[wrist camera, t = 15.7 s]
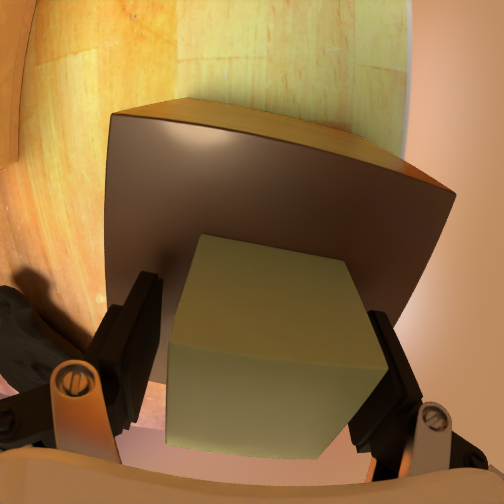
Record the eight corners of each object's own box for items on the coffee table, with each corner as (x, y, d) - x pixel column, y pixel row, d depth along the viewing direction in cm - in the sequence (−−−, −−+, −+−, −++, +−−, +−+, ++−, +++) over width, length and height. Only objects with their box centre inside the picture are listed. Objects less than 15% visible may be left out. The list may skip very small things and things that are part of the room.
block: (201, 232, 11) (167, 341, 6) (344, 260, 11) (390, 368, 7) (186, 340, 13) (165, 445, 9) (302, 357, 13) (316, 460, 9)
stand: (185, 97, 19) (109, 112, 9) (361, 136, 20) (458, 194, 10) (164, 254, 25) (114, 372, 14) (313, 282, 26) (343, 405, 15)
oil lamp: (88, 273, 26) (64, 308, 21) (125, 403, 35) (115, 435, 31) (-20, 258, 25) (-46, 284, 21) (32, 379, 35) (18, 405, 30)
